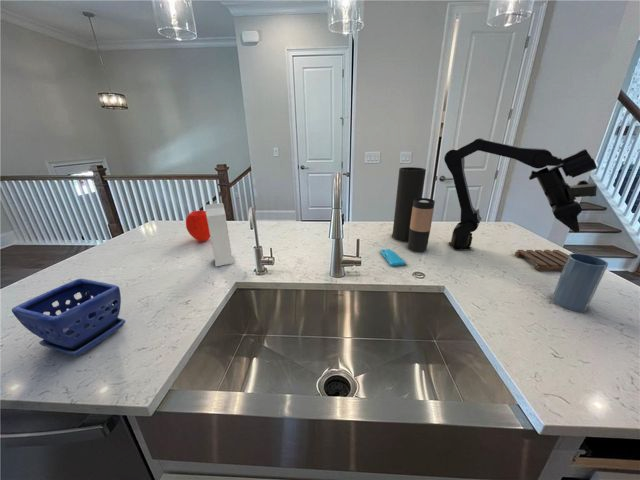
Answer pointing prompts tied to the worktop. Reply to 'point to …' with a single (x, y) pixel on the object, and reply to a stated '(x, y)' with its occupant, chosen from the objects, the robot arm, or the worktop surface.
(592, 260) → the tumbler
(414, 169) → the vase
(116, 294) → the flower pot
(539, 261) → the drying rack
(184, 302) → the worktop surface
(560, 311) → the worktop surface
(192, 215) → the apple
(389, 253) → the sponge
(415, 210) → the travel mug
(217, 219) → the milk
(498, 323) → the worktop surface
